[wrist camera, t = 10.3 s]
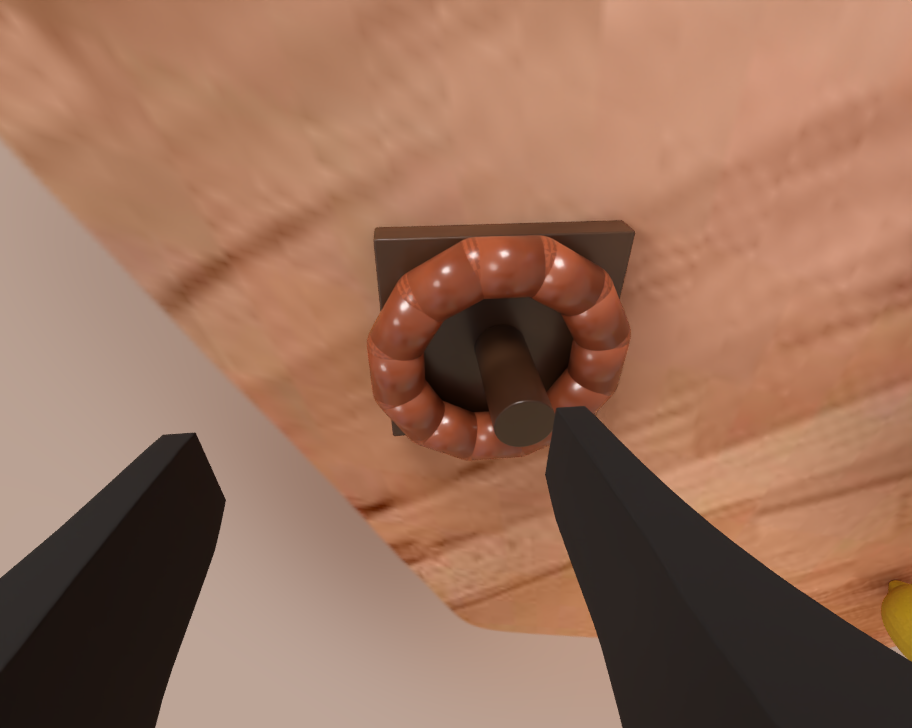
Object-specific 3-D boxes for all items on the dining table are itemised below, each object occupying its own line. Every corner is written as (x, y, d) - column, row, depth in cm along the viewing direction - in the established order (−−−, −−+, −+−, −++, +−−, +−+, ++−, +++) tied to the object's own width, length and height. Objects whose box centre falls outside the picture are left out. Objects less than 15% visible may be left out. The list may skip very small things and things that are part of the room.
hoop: (641, 223, 16) (668, 245, 14) (591, 428, 22) (606, 460, 20) (357, 230, 15) (352, 255, 14) (381, 442, 21) (380, 477, 19)
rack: (622, 219, 17) (705, 290, 13) (582, 406, 22) (630, 504, 18) (374, 226, 16) (366, 305, 12) (393, 418, 22) (392, 524, 17)
